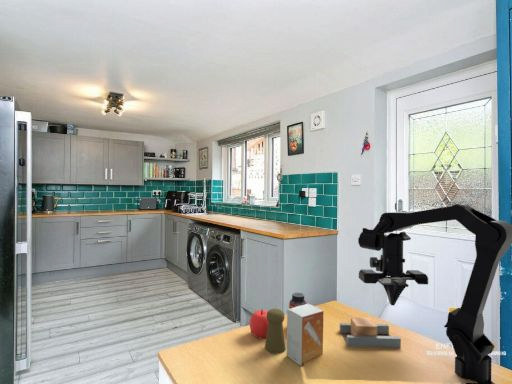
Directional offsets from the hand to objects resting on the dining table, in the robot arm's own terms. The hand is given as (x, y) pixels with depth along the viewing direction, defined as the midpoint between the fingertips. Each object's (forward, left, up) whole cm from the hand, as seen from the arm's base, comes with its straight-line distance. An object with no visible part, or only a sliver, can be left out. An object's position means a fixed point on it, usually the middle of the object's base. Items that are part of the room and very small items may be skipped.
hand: (392, 304), depth 89 cm
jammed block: (+9, 0, -10) cm, 13 cm away
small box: (+28, +9, -12) cm, 31 cm away
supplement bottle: (+28, -8, -12) cm, 31 cm away
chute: (+7, 0, -11) cm, 13 cm away
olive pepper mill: (+36, +5, -12) cm, 38 cm away
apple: (+40, -3, -12) cm, 41 cm away
